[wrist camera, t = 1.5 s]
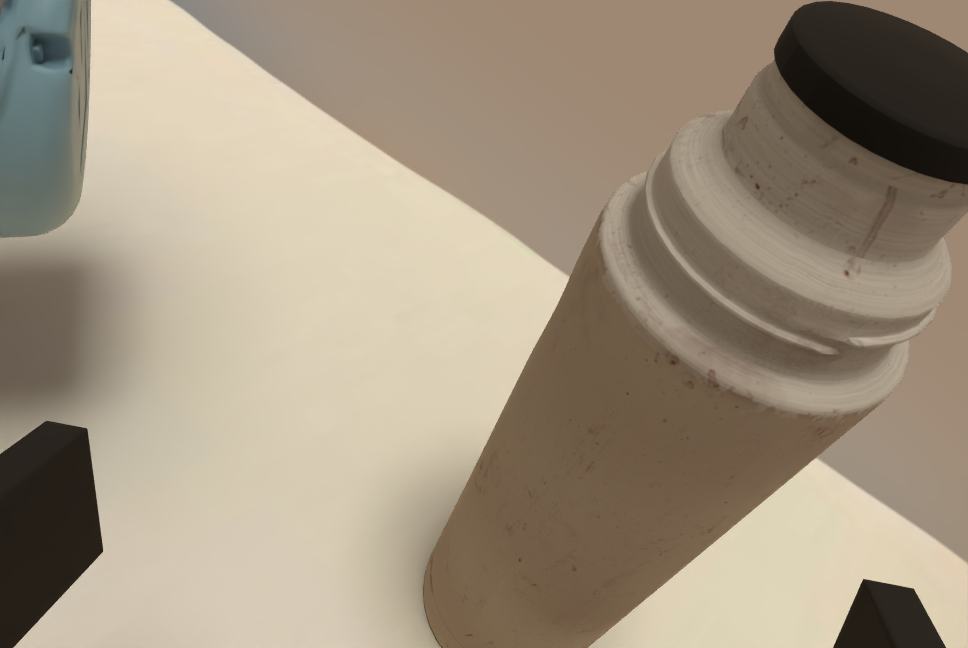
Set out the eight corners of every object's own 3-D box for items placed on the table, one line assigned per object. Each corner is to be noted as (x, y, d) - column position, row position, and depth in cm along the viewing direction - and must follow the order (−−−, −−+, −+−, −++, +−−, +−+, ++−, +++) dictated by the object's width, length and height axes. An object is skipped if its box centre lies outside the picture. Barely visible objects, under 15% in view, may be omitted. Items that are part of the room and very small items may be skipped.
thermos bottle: (459, 489, 36) (740, -87, 16) (602, 557, 36) (1080, 56, 15) (393, 638, 31) (689, 59, 10) (561, 719, 31) (1208, 283, 10)
